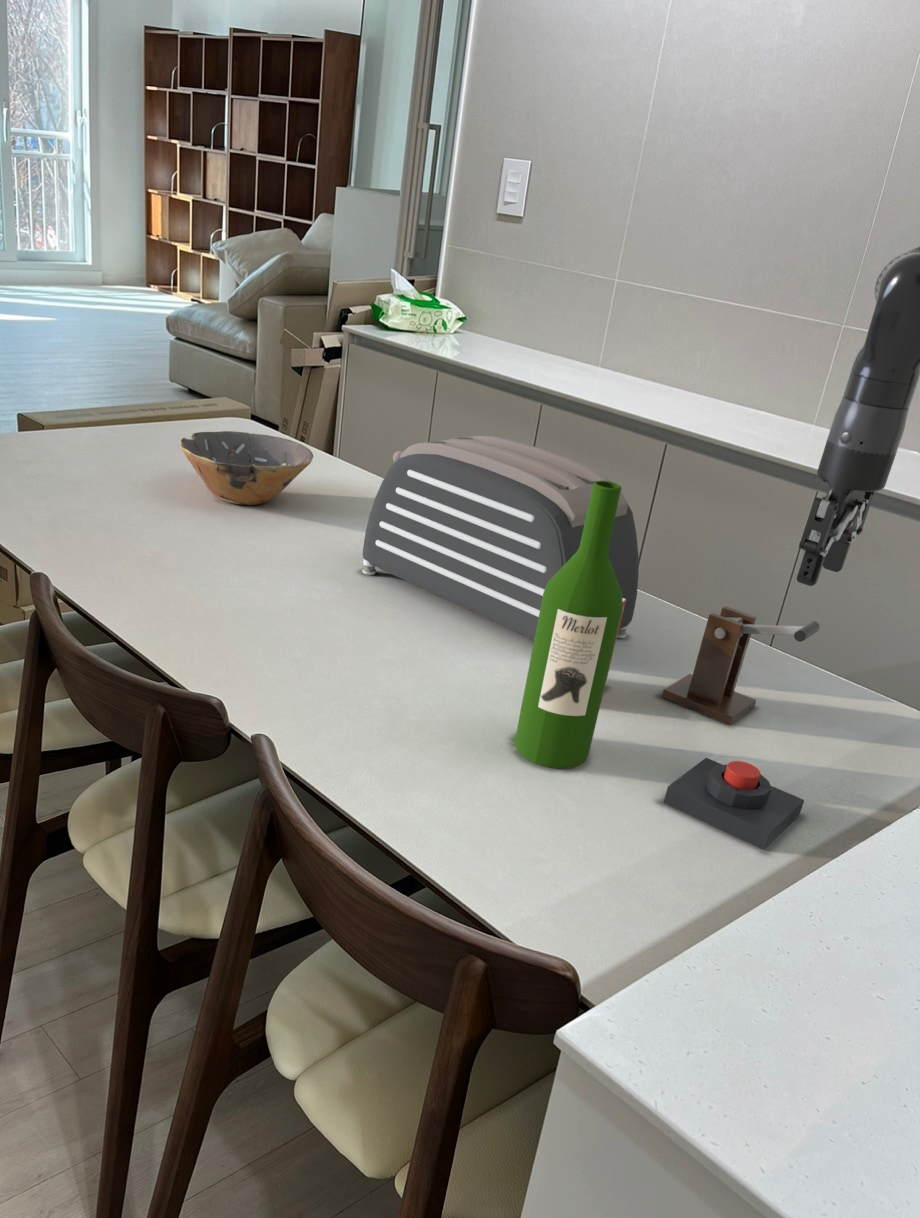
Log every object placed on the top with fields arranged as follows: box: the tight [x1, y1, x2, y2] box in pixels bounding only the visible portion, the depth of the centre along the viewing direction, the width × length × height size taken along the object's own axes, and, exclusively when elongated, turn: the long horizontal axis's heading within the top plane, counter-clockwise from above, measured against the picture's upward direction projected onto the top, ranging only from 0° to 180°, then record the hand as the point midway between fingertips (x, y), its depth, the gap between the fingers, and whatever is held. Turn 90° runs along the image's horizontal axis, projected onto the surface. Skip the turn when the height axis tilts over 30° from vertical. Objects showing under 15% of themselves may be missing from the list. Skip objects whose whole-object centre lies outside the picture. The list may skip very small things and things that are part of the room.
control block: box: [663, 757, 805, 850], centre depth 118 cm, size 12×10×4 cm
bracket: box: [661, 605, 757, 726], centre depth 141 cm, size 10×8×13 cm
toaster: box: [362, 435, 640, 640], centre depth 163 cm, size 19×45×24 cm, turn 44°
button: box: [724, 760, 762, 790], centre depth 117 cm, size 4×4×2 cm
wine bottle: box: [514, 481, 623, 769], centre depth 119 cm, size 9×9×32 cm
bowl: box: [179, 430, 314, 506], centre depth 199 cm, size 25×25×10 cm
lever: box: [726, 617, 821, 643], centre depth 136 cm, size 12×5×2 cm, turn 49°
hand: (818, 576), depth 128 cm, fingers open, 8 cm apart
